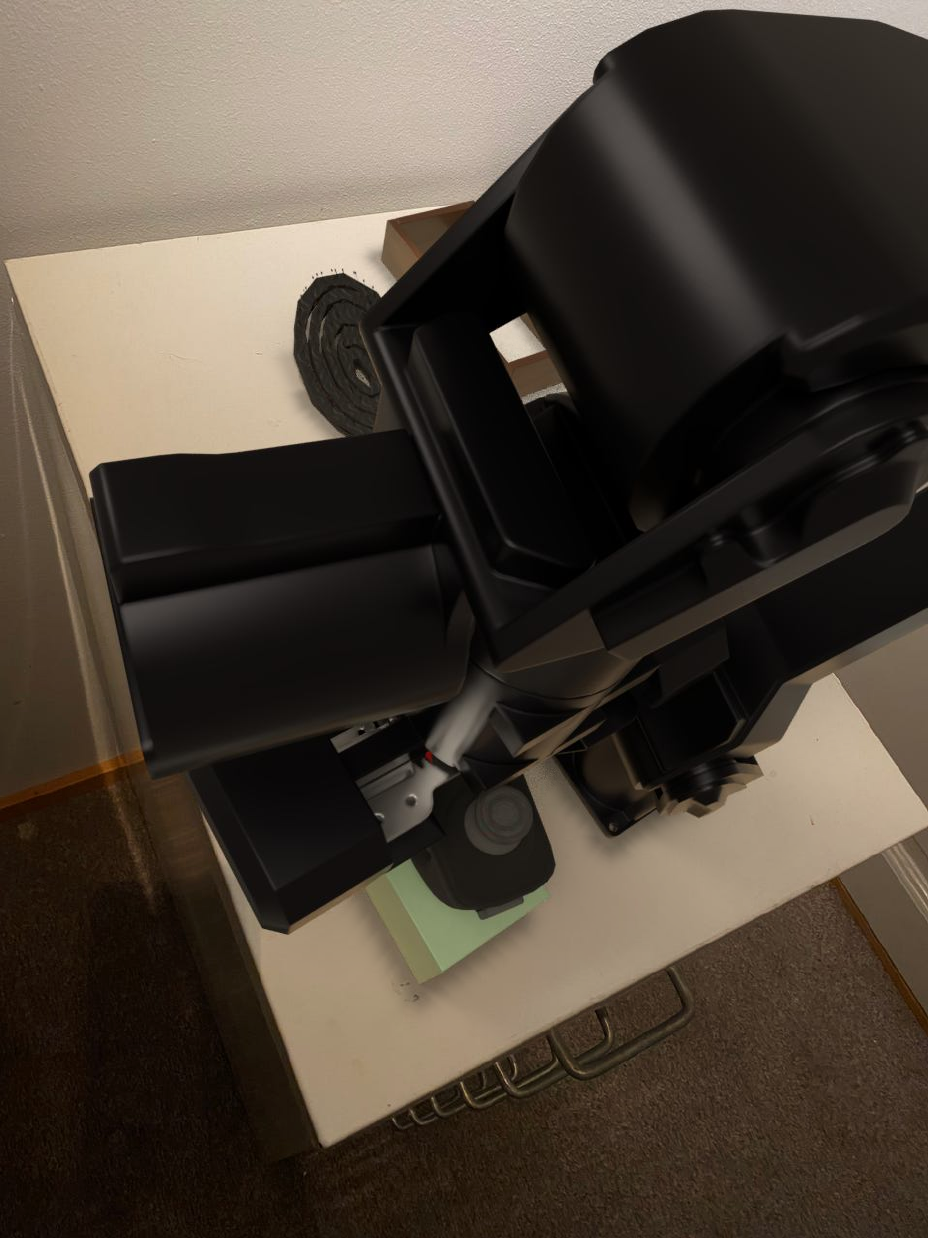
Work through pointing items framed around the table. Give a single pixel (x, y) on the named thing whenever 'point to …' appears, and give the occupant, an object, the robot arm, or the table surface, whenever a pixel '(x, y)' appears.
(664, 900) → the table surface
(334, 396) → the hairbrush
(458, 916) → the mint green rectangular brick
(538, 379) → the frame
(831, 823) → the table surface
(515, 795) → the controller
